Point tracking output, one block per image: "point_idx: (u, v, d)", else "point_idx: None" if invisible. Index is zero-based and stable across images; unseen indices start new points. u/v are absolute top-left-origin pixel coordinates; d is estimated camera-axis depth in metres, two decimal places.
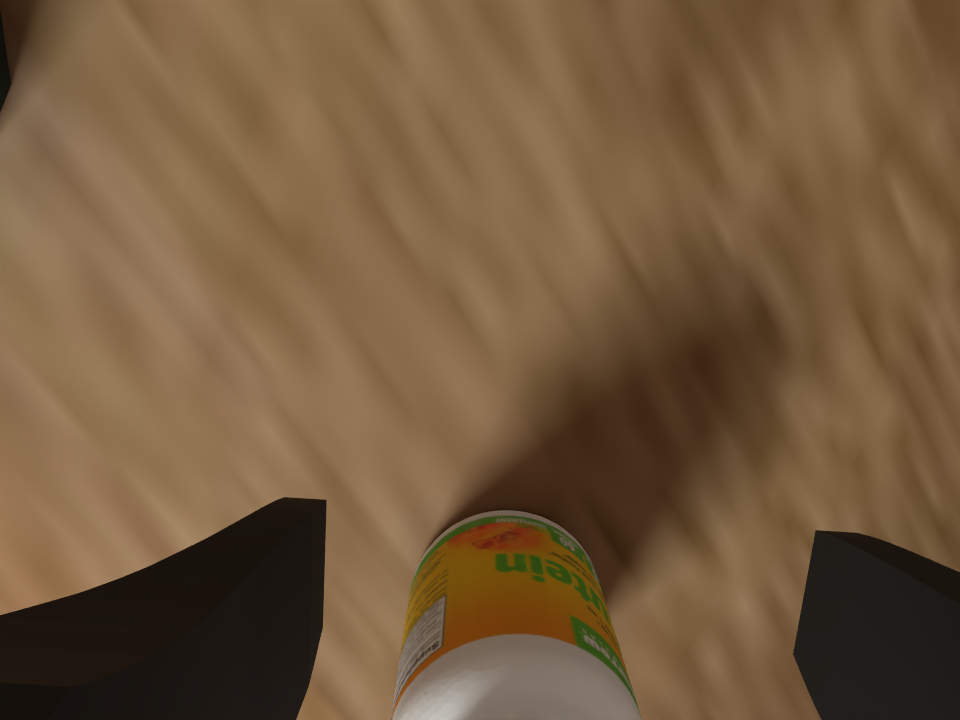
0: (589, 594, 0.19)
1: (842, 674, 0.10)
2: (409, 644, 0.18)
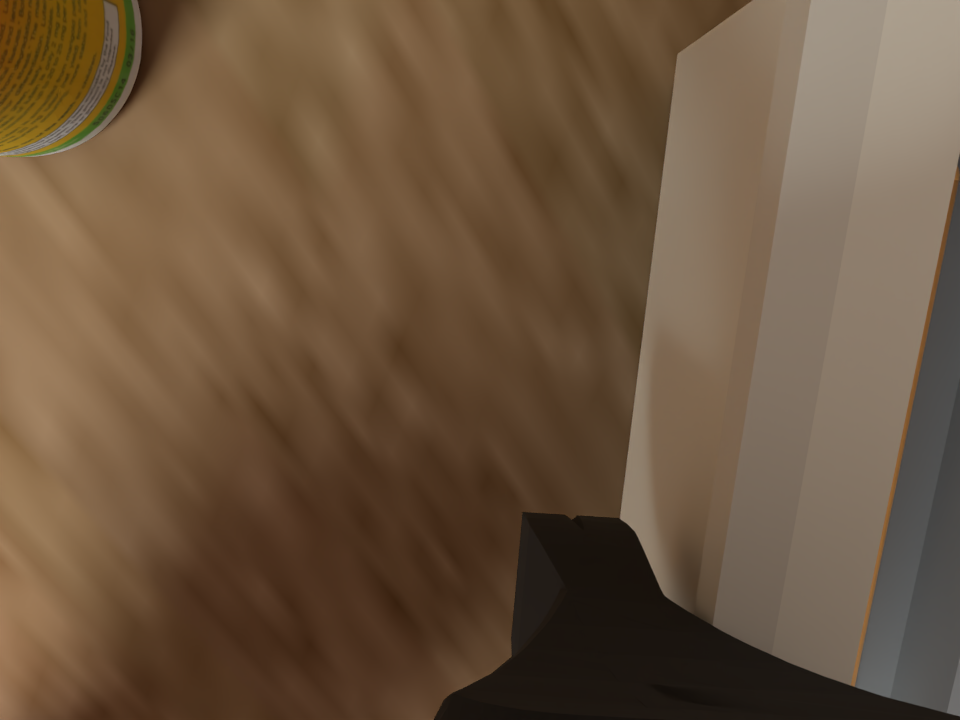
0: None
1: None
2: None
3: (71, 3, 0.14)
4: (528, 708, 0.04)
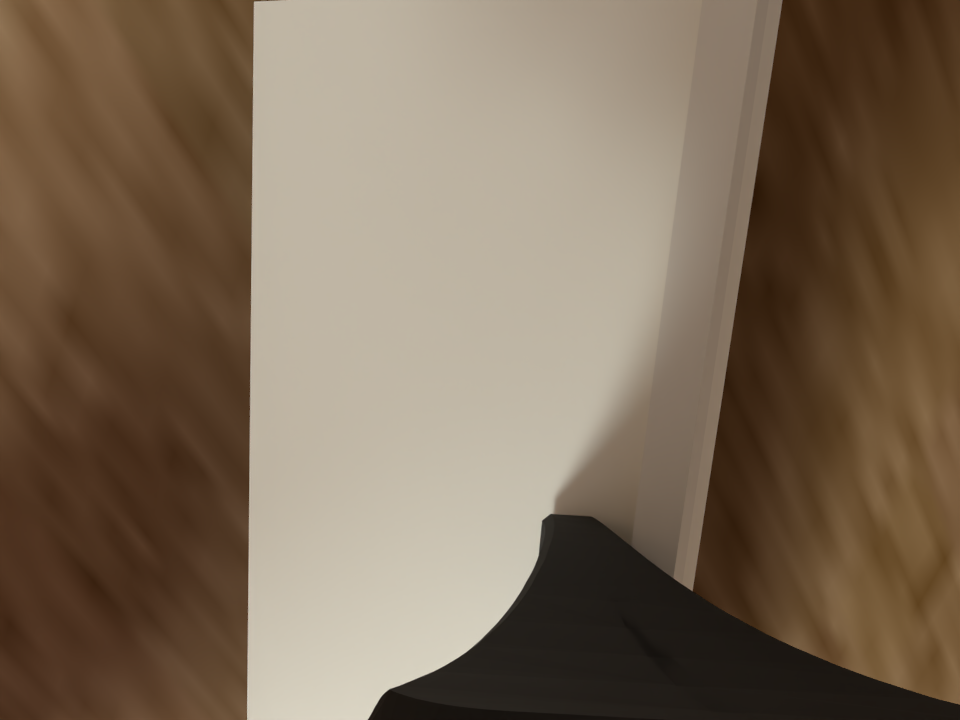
0: None
1: None
2: None
3: None
4: (459, 704, 0.04)
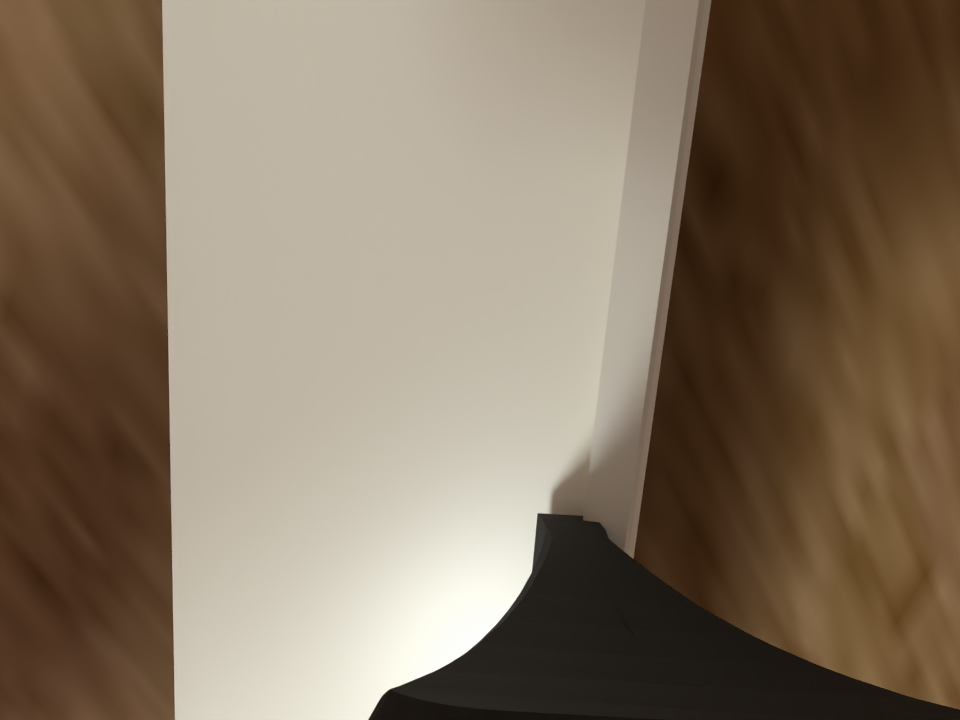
0: None
1: None
2: None
3: None
4: (459, 704, 0.04)
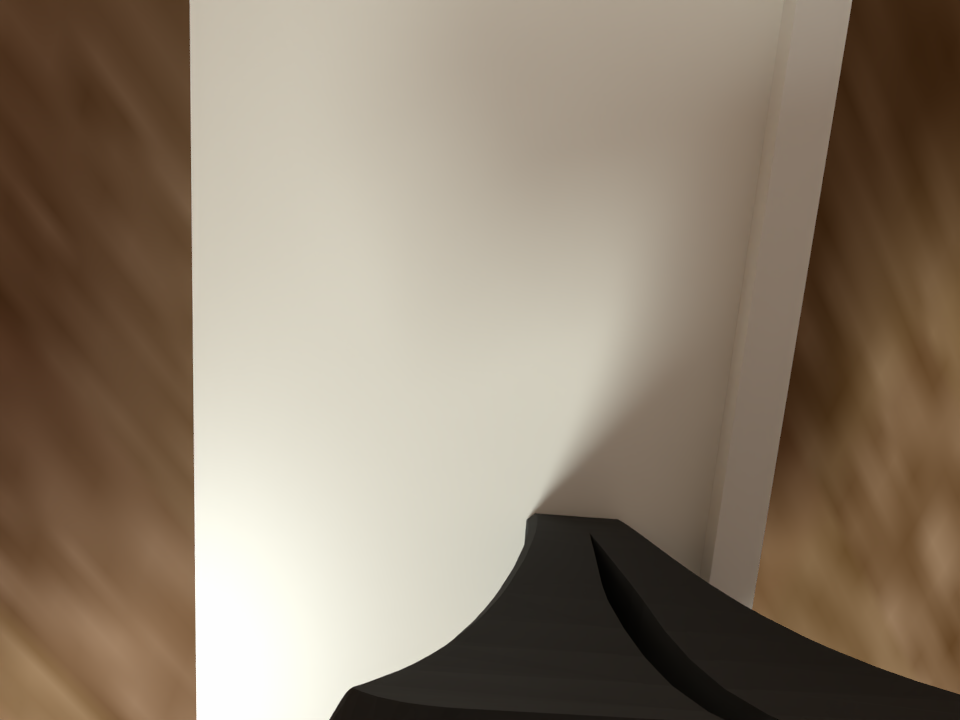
0: None
1: None
2: None
3: None
4: (419, 702, 0.04)
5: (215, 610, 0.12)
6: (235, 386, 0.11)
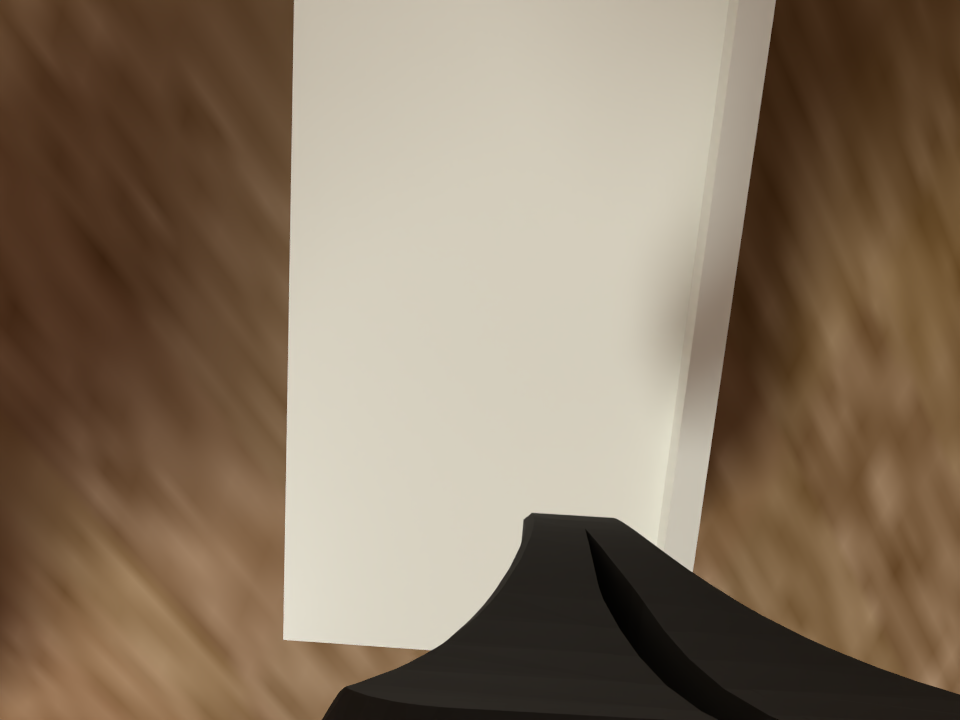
0: None
1: None
2: None
3: None
4: (412, 701, 0.04)
5: (301, 511, 0.16)
6: (321, 336, 0.15)
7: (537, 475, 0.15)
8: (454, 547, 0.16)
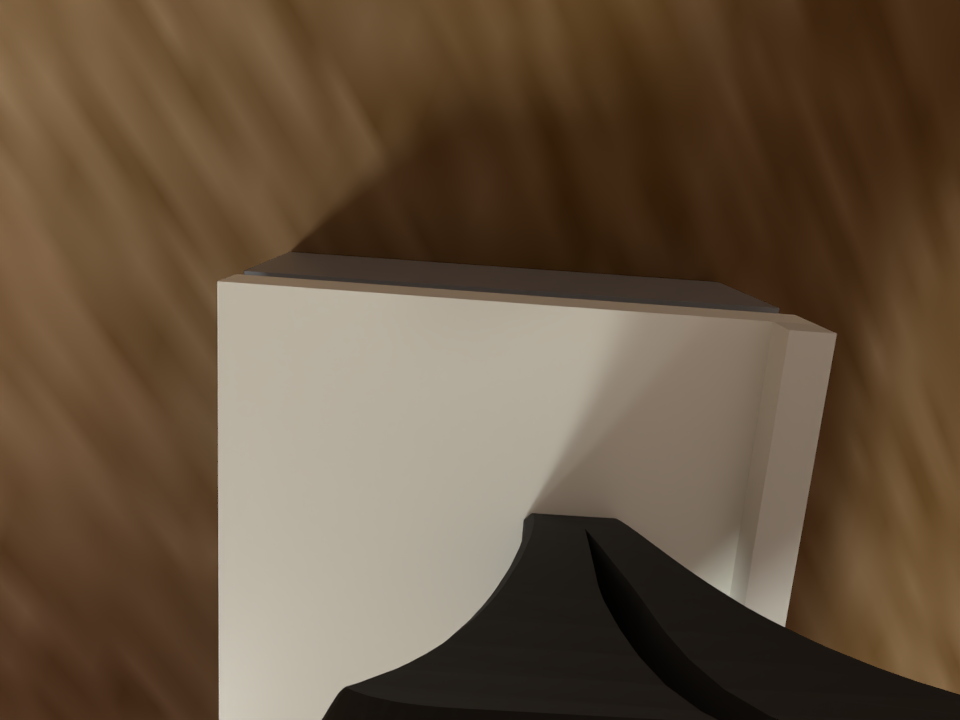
0: None
1: None
2: None
3: None
4: (412, 701, 0.04)
5: None
6: None
7: None
8: None
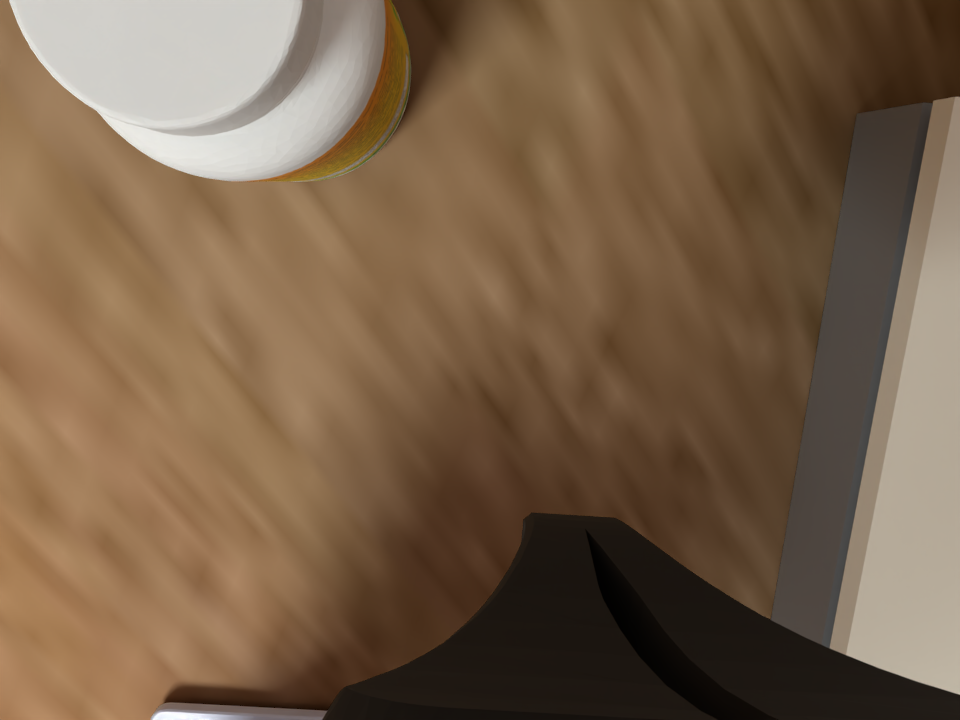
0: None
1: None
2: None
3: (400, 58, 0.17)
4: (412, 701, 0.04)
5: None
6: None
7: None
8: None
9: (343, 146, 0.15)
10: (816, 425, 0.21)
